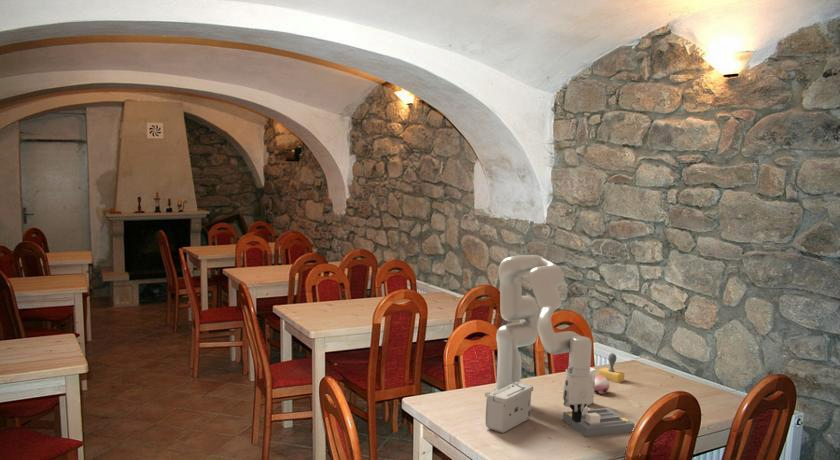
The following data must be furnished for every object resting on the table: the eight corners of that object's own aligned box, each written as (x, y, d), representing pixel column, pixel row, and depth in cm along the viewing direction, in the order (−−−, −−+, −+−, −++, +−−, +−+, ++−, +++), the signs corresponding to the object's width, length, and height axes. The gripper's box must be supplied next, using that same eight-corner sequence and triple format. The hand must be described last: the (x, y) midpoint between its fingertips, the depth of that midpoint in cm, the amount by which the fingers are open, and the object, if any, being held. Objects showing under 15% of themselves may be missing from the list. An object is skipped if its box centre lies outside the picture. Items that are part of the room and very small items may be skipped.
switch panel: (586, 436, 233) (586, 426, 232) (563, 419, 248) (563, 410, 247) (634, 431, 239) (634, 421, 239) (608, 415, 254) (609, 406, 254)
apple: (607, 390, 284) (608, 374, 283) (610, 396, 276) (612, 379, 276) (588, 388, 285) (589, 372, 284) (591, 394, 277) (592, 378, 276)
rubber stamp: (598, 377, 301) (599, 352, 300) (604, 375, 305) (606, 349, 304) (617, 383, 294) (619, 357, 293) (624, 380, 298) (626, 354, 297)
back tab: (578, 416, 243) (578, 408, 243) (573, 413, 246) (574, 405, 246) (587, 415, 245) (588, 407, 244) (583, 412, 247) (583, 404, 247)
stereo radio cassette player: (514, 413, 253) (516, 363, 251) (533, 419, 247) (535, 367, 245) (483, 429, 236) (486, 375, 234) (503, 435, 231) (506, 380, 229)
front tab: (590, 424, 236) (590, 416, 235) (585, 421, 239) (586, 413, 238) (599, 423, 237) (600, 415, 237) (595, 420, 240) (595, 412, 240)
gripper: (566, 375, 228) (563, 427, 229) (603, 373, 232) (600, 423, 234) (555, 369, 235) (552, 419, 237) (591, 366, 240) (588, 415, 241)
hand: (576, 421), depth 235 cm, fingers closed
